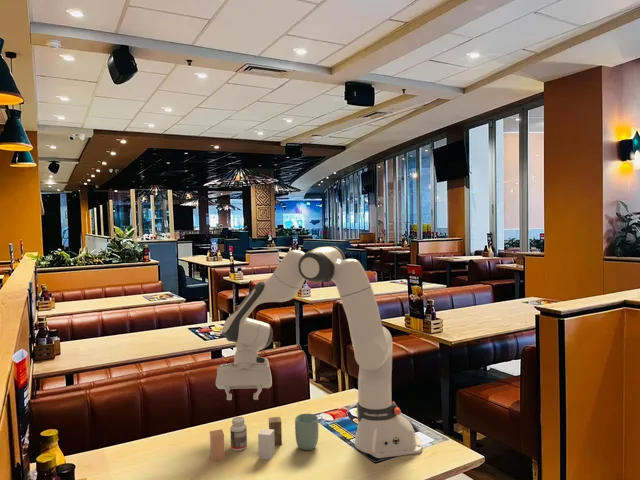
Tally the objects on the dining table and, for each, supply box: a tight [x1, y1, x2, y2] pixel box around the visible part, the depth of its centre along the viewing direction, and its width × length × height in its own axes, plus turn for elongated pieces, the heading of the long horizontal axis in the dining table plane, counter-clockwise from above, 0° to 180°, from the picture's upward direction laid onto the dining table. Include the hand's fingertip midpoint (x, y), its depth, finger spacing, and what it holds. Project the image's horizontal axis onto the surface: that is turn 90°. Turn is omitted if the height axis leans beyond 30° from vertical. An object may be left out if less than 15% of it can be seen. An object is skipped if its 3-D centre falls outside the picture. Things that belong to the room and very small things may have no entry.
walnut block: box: [268, 416, 283, 446], centre depth 162 cm, size 4×4×8 cm
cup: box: [294, 413, 320, 451], centre depth 158 cm, size 8×8×10 cm
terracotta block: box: [209, 428, 226, 462], centre depth 153 cm, size 4×4×8 cm
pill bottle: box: [230, 416, 248, 452], centre depth 159 cm, size 5×5×10 cm
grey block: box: [257, 428, 276, 461], centre depth 153 cm, size 4×4×8 cm
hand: (242, 399), depth 168 cm, fingers open, 8 cm apart
